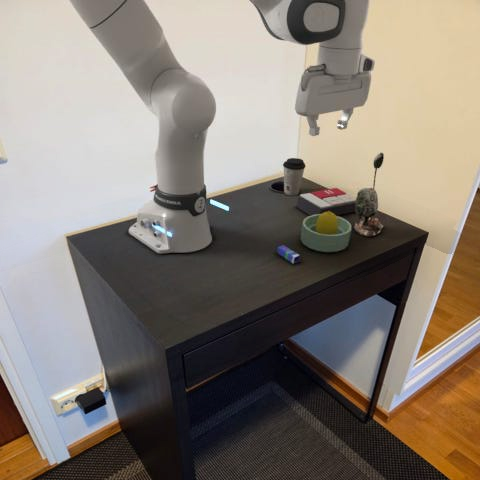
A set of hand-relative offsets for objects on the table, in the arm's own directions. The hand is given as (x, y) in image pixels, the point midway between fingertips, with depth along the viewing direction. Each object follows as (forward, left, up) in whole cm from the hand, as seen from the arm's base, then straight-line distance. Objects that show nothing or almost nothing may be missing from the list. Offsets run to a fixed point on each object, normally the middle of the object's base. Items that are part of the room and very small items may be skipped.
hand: (328, 131), depth 101 cm
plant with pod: (+9, +13, -27) cm, 31 cm away
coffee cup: (-20, +22, -27) cm, 40 cm away
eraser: (+1, -14, -27) cm, 30 cm away
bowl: (+4, -1, -27) cm, 27 cm away
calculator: (-5, +18, -27) cm, 33 cm away
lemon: (+4, -1, -26) cm, 26 cm away
